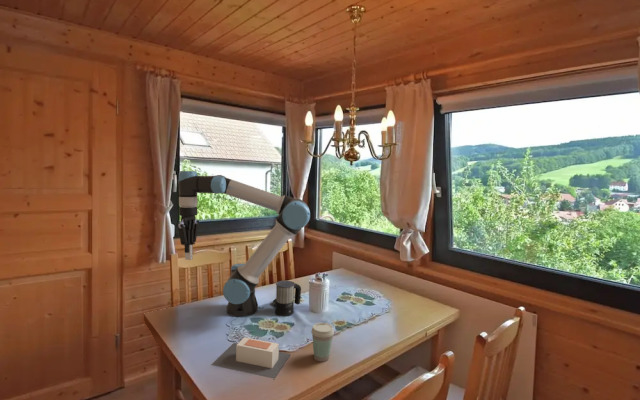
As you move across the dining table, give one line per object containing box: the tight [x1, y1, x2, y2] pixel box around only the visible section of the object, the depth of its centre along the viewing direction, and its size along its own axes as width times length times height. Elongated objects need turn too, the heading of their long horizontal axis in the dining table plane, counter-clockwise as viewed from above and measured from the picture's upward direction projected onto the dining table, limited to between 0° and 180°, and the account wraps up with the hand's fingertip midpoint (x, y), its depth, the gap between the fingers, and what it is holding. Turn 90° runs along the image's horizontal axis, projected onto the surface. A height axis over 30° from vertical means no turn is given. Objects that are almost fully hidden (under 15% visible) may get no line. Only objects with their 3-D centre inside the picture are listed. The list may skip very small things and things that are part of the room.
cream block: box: [236, 337, 280, 368], centre depth 124 cm, size 6×6×14 cm
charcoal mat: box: [211, 342, 291, 380], centre depth 124 cm, size 24×16×1 cm, turn 75°
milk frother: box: [272, 280, 302, 317], centre depth 170 cm, size 14×16×15 cm
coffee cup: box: [311, 322, 335, 362], centre depth 128 cm, size 8×9×12 cm
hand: (188, 259), depth 150 cm, fingers closed
